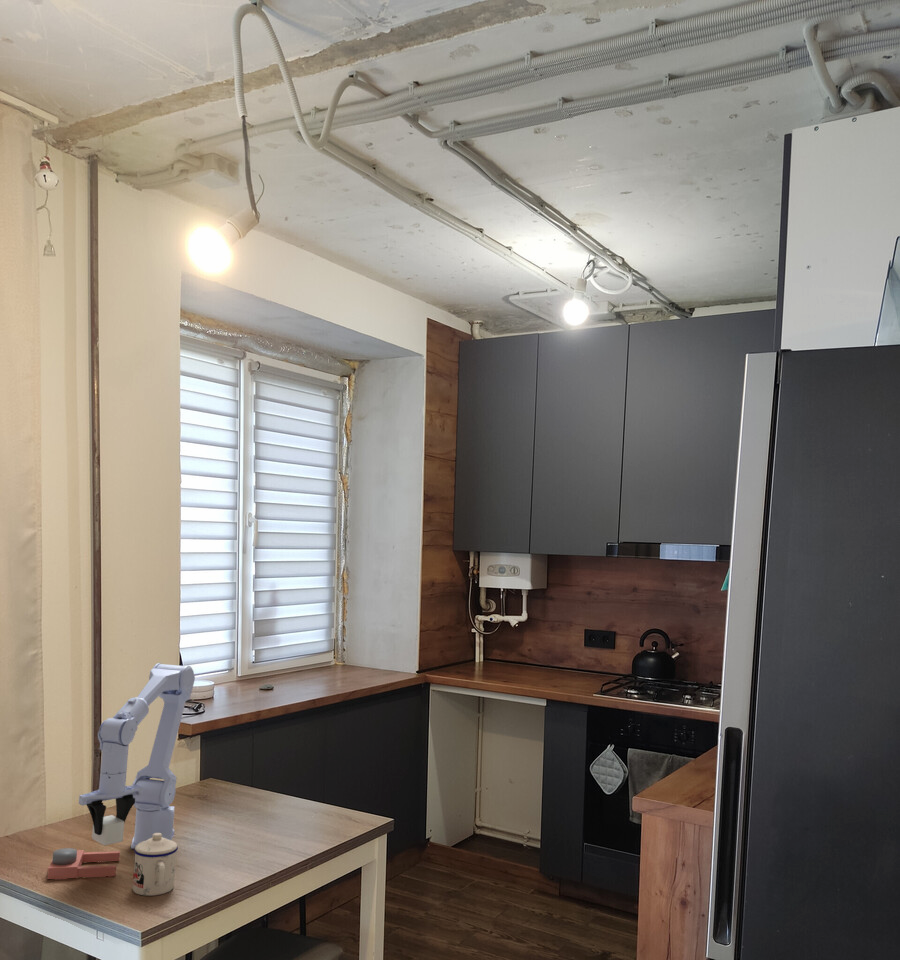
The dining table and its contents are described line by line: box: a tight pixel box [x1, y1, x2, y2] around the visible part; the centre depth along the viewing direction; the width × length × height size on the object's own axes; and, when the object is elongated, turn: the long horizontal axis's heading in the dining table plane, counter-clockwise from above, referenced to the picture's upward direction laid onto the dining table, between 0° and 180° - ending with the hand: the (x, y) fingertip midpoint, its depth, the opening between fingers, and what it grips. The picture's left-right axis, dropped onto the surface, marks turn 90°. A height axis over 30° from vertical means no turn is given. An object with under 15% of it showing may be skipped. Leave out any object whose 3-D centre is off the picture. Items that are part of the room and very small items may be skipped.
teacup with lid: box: [132, 833, 178, 897], centre depth 189 cm, size 12×9×12 cm
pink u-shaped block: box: [47, 847, 121, 880], centre depth 199 cm, size 14×11×4 cm
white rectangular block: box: [91, 814, 125, 846], centre depth 201 cm, size 4×6×4 cm
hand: (108, 831), depth 200 cm, fingers closed on white rectangular block, 4 cm apart
